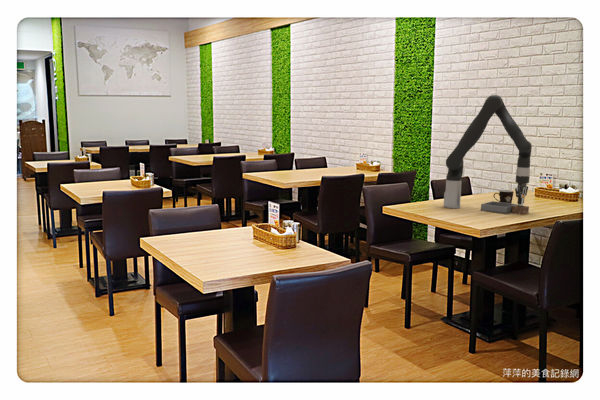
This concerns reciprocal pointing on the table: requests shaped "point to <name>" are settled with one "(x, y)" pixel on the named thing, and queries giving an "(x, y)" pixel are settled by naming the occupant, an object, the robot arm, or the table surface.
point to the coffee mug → (505, 196)
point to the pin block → (520, 209)
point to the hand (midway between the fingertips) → (520, 203)
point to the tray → (497, 207)
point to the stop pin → (522, 202)
